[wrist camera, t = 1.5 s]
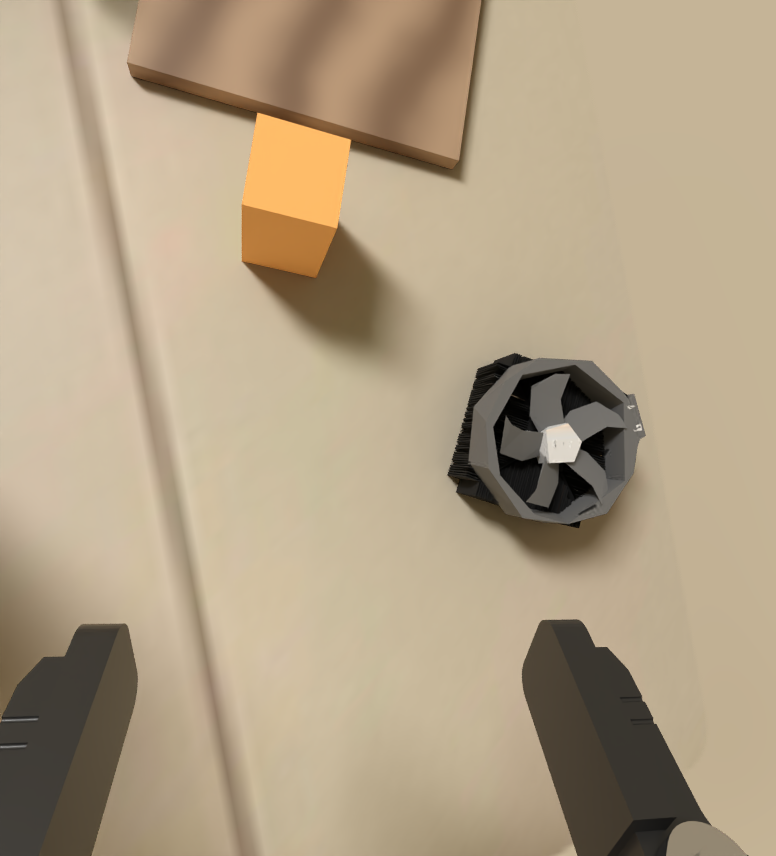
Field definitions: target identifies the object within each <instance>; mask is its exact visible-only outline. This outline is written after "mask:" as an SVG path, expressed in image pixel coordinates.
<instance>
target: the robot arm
mask: <svg viewBox="0 0 776 856" xmlns="http://www.w3.org/2000/svg"><path fill="white" fill-rule="evenodd" d="M137 682H138V676H137V668H136V663H135V659H134V654H133V649H132V644H131V639H130V634H129V629H128V626H127V625H126V624H83V625H81V626H79V628H78V629H77V630H76V632H75V634H74V636H73V639H72V641H71V643H70V646H69V648H68V650H67V653H66V655H65V657H44V658H43V659H42V660H41V661H40V662H39V663H38V664H37V665H36V666H35V667H34V668H33V669H32V670H31V671H30V672H29V673H28V674H27V676H26V677H25V678H24V679H23V680H22V681H21V682H20V683H19V684H18V685H17V687H16V689H15V691H14V693H13V695H12V698H11V700H10V702H9V704H8V706H7V708H6V710H5V712H4V714H3V716H2V722H1V723H0V856H91V855H92V851H93V848H94V844H95V841H96V837H97V834H98V830H99V827H100V823H101V820H102V816H103V813H104V809H105V806H106V803H107V799H108V796H109V792H110V789H111V785H112V782H113V778H114V775H115V771H116V768H117V764H118V761H119V757H120V754H121V750H122V747H123V743H124V740H125V736H126V733H127V729H128V726H129V722H130V719H131V715H132V712H133V708H134V704H135V700H136V693H137ZM522 683H523V690H524V694H525V698H526V701H527V704H528V707H529V710H530V713H531V716H532V719H533V722H534V725H535V728H536V731H537V734H538V737H539V740H540V743H541V746H542V749H543V752H544V755H545V759H546V762H547V765H548V768H549V771H550V774H551V777H552V780H553V783H554V786H555V789H556V792H557V795H558V798H559V801H560V804H561V807H562V810H563V813H564V816H565V819H566V822H567V825H568V828H569V831H570V834H571V837H572V840H573V843H574V846H575V849H576V853H577V855H578V856H748V855H746V854H745V853H744V851H743V850H742V849H741V848H740V847H739V846H738V845H737V844H736V843H735V842H734V841H733V840H732V839H731V838H729V837H728V836H727V835H726V834H724V833H723V832H722V831H720V830H718V829H717V828H715V827H713V826H712V825H711V824H710V823H709V822H708V821H707V819H706V818H705V816H704V814H703V813H702V811H701V810H700V808H699V806H698V804H697V802H696V800H695V798H694V796H693V794H692V792H691V790H690V788H689V787H688V785H687V783H686V781H685V779H684V777H683V775H682V773H681V771H680V769H679V767H678V765H677V763H676V761H675V759H674V757H673V755H672V754H671V752H670V750H669V748H668V746H667V744H666V742H665V740H664V738H663V736H662V734H661V732H660V730H659V728H658V726H657V724H654V722H653V717H652V715H651V713H650V711H649V709H648V707H647V705H646V703H645V702H643V701H642V695H641V693H640V692H639V690H638V688H637V686H636V684H635V682H634V680H633V678H632V676H631V674H630V672H629V670H628V669H627V668H626V667H625V666H624V665H623V664H622V663H621V662H620V660H619V659H618V658H617V657H616V656H615V655H614V654H613V653H612V652H611V651H610V650H609V649H608V648H607V647H595V645H594V643H593V641H592V639H591V637H590V635H589V632H588V630H587V629H586V627H585V625H584V624H583V623H582V622H581V621H580V620H542V621H541V622H540V623H539V625H538V628H537V631H536V633H535V636H534V638H533V641H532V643H531V646H530V648H529V651H528V653H527V656H526V659H525V661H524V664H523V669H522Z"/></svg>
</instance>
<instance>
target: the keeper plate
mask: <svg viewBox="0 0 776 856" xmlns="http://www.w3.org/2000/svg"><path fill="white" fill-rule="evenodd" d="M480 6H481V0H139V2H138V7H137V13H136V18H135V23H134V28H133V33H132V39H131V44H130V49H129V54H128V60H127V64H128V67H129V70H130V74H131V76H133V77H136V78H139V79H143V80H146V81H150V82H153V83H157V84H160V85H164V86H167V87H170V88H174V89H177V90H181V91H184V92H188V93H191V94H194V95H198V96H201V97H205V98H208V99H212V100H215V101H218V102H222V103H225V104H229V105H232V106H236V107H239V108H243V109H246V110H249V111H253V112H256V113H261V114H264V115H268V116H271V117H274V118H278V119H281V120H285V121H288V122H292V123H295V124H298V125H302V126H305V127H309V128H312V129H316V130H319V131H322V132H326V133H329V134H333V135H336V136H340V137H343V138H346V139H350V140H352V141H356V142H359V143H363V144H366V145H370V146H373V147H376V148H380V149H383V150H387V151H390V152H394V153H397V154H401V155H404V156H407V157H411V158H414V159H418V160H421V161H425V162H428V163H431V164H435V165H438V166H442V167H445V168H449V169H453V168H454V166H455V165H456V164H457V162H458V161H459V157H460V149H461V142H462V135H463V128H464V121H465V114H466V107H467V99H468V92H469V85H470V78H471V71H472V64H473V56H474V49H475V42H476V35H477V28H478V21H479V14H480Z"/></svg>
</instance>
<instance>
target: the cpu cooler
mask: <svg viewBox="0 0 776 856" xmlns="http://www.w3.org/2000/svg"><path fill="white" fill-rule="evenodd" d="M521 356H522V355H521ZM521 356H520V354H519V355H518V354H515V353H514V354H511V355H509V356H506V357H503V358H500V359H498V360H495V361H494V363H493V364H490V365H487V366H484V367H481V368H478V369H477V370H478V371H477V372H478V373H476V374H477V375H476V378H477V380H475V381H474V384H473V385H474V386H473V387H474V388H473V389H475V390H471V391H472V392H471V394H470V397H469V398H470V399H469V400H471V401H468V402H469V403H468V405H471V406H467V408H466V409H468V410H467V411H468V412H465V413H466V414H465V416H466V418H464V419H463V420H466V421H464V422H466V423H462V424H463V425H462V427H461V428H464V429H467V430H461V431H464V432H462V433H465V434H459V435H461V436H458V437H459V438H458V440H460V441H457V442H459V443H458V444H461V445H456V447H455V449H458V450H457V452H454V453H456V454H453V455H454V456H453V458H452V460H455V461H452V462H455V463H458V464H453V465H450V466H451V467H450V469H453V470H449V471H452V472H448V473H450V474H448V475H449V476H452V477H456V478H459V479H460V481H459V485H458V488H457V491H456V492H458V493H461V494H464V495H467V496H471V497H473V498H477V499H480V500H483V501H486V502H489V503H493V504H496V505H499V506H500V507H501V509H502V510H503V511H504V513H505V514H508V515H512V516H516V517H520V518H525V519H529V520H534V521H539V522H544V523H558V524H562V525H567V526H571V527H576V528H579V526H580V522H581V520H585V519H589V518H592V517H596V516H600V515H603V514H607V513H608V511H609V510H610V508H611V507H612V505H613V504H614V502H615V501H616V499H617V497H618V496H619V494H620V493H621V491H622V490H623V488H624V487H625V485H626V484H627V482H628V481H629V479H630V478H631V476H632V475H633V473H634V467H635V460H636V453H637V447H638V443H639V440H640V439H641V438H643V437H644V436H646V435H645V431H644V428H643V424H642V421H641V417H640V413H639V410H638V406H637V403H636V399H635V396H634V394H630V395H627V394H625V393H623V392H622V391H621V390H620V389H619V388H618V387H617V386H616V385H615V384H614V383H613V382H612V381H611V380H610V379H609V378H608V377H607V376H606V375H605V374H604V373H603V372H602V371H601V370H600V369H599V368H598V367H597V366H596V365H595V364H594V363H593V362H592V361H583V360H566V359H548V358H538V359H534V360H533V359H530V358H527V357H525V356H524V357H521ZM600 455H602V456H600ZM455 458H456V459H455ZM452 467H454V468H452Z"/></svg>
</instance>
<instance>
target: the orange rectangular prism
mask: <svg viewBox="0 0 776 856" xmlns="http://www.w3.org/2000/svg"><path fill="white" fill-rule="evenodd" d="M350 143H351V140H350V139H346V138H343V137H340V136H336V135H333V134H329V133H326V132H322V131H319V130H316V129H312V128H309V127H305V126H302V125H298V124H295V123H292V122H288V121H285V120H281V119H278V118H274V117H271V116H268V115H264V114H261V113H257V119H256V124H255V130H254V136H253V142H252V148H251V154H250V160H249V165H248V171H247V177H246V183H245V189H244V195H243V201H242V261H243V262H247V263H252V264H256V265H261V266H265V267H270V268H274V269H278V270H283V271H287V272H292V273H296V274H301V275H305V276H309V277H314V278H316V277H317V274H318V272H319V270H320V267H321V265H322V263H323V260H324V258H325V256H326V253H327V251H328V249H329V246H330V244H331V242H332V239H333V237H334V235H335V232H336V230H337V226H338V220H339V214H340V207H341V201H342V194H343V188H344V182H345V175H346V169H347V162H348V156H349V150H350Z"/></svg>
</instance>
